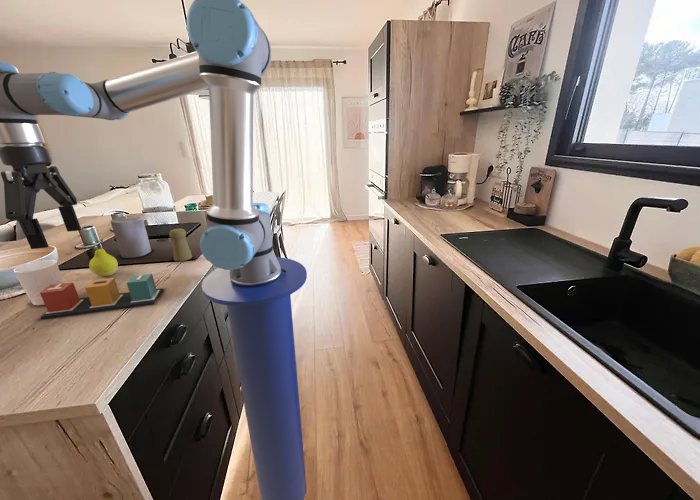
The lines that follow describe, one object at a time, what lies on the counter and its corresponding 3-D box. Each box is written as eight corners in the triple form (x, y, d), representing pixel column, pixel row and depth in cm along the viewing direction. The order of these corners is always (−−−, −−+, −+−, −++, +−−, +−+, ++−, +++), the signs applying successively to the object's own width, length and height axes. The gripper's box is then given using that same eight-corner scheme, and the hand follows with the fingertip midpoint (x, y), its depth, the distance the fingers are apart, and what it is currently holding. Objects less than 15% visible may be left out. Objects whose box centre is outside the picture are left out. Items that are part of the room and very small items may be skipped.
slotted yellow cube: (120, 295, 78) (114, 276, 76) (112, 304, 74) (106, 284, 72) (100, 298, 77) (94, 279, 75) (92, 306, 73) (84, 286, 71)
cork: (170, 258, 104) (163, 229, 101) (187, 253, 109) (181, 226, 105) (178, 262, 101) (172, 232, 97) (195, 257, 106) (189, 228, 102)
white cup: (61, 289, 83) (48, 257, 79) (75, 295, 80) (62, 262, 76) (23, 302, 76) (7, 268, 73) (36, 309, 73) (20, 274, 69)
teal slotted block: (156, 291, 81) (152, 272, 79) (151, 298, 77) (146, 279, 75) (138, 293, 80) (133, 274, 78) (132, 301, 76) (126, 282, 74)
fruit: (89, 281, 88) (76, 244, 83) (97, 272, 93) (85, 238, 89) (117, 277, 90) (105, 241, 86) (123, 269, 96) (112, 235, 92)
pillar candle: (119, 253, 110) (107, 215, 104) (149, 247, 116) (139, 210, 110) (122, 260, 103) (110, 220, 98) (154, 253, 109) (144, 215, 104)
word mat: (163, 289, 83) (162, 287, 83) (154, 304, 76) (153, 301, 75) (61, 302, 76) (60, 300, 76) (41, 319, 69) (40, 316, 69)
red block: (80, 300, 76) (72, 281, 74) (70, 309, 72) (62, 289, 70) (59, 303, 75) (51, 283, 73) (48, 312, 71) (39, 292, 69)
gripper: (38, 145, 72) (69, 226, 80) (-58, 146, 50) (-3, 259, 57) (75, 144, 74) (101, 223, 82) (-3, 146, 52) (44, 254, 59)
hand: (58, 238), depth 69 cm, fingers open, 13 cm apart
